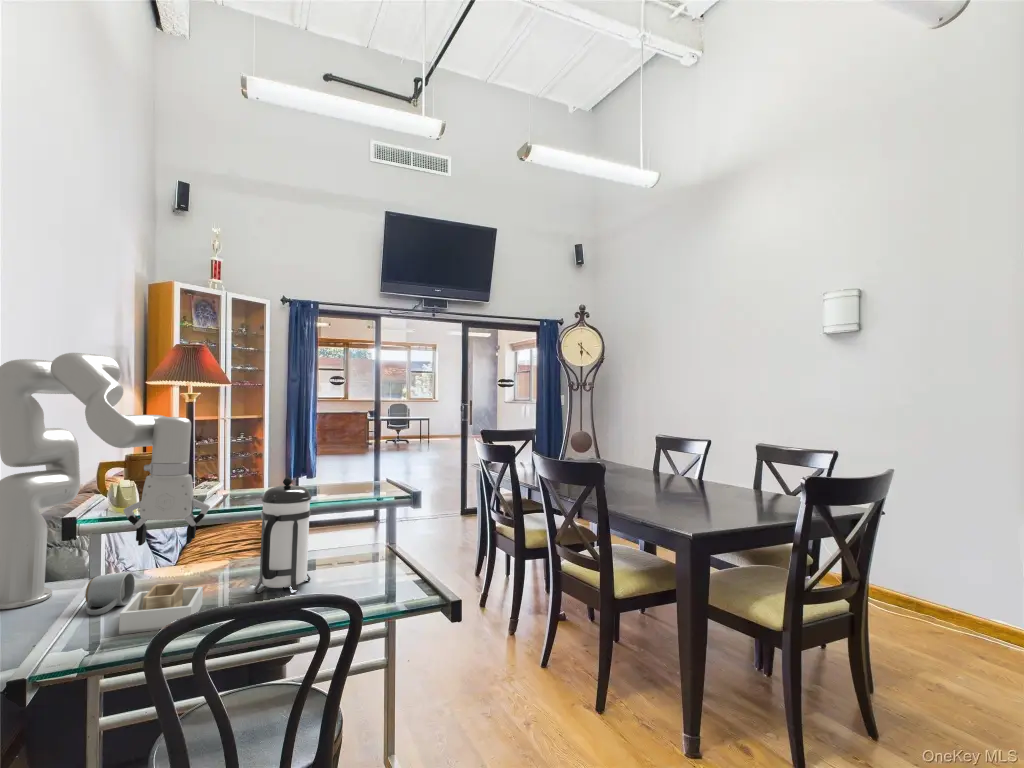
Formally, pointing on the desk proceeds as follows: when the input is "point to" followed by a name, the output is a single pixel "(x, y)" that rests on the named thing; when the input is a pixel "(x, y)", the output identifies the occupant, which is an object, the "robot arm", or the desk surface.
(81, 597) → the desk surface
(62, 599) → the desk surface
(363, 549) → the desk surface
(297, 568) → the coffee press
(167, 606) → the birch crate
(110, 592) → the ceramic mug
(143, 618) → the grey crate
